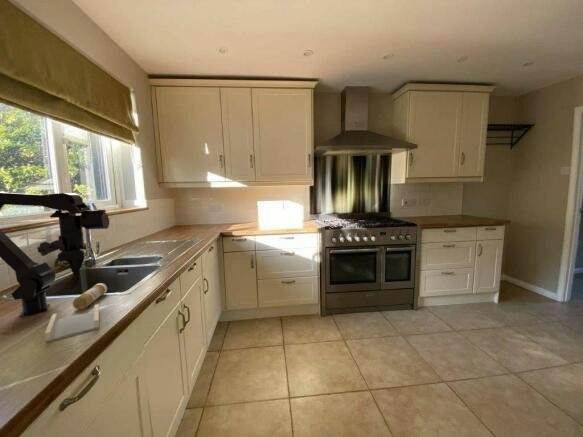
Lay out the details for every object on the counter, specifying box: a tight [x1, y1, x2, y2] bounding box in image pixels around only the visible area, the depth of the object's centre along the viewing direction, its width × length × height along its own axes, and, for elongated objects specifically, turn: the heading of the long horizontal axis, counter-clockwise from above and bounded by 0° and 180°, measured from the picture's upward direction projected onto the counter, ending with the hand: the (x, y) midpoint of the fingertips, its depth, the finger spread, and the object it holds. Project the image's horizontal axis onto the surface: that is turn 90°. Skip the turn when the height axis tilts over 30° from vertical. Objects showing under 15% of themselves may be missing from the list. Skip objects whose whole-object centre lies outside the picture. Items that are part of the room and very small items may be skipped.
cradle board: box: [44, 303, 100, 344], centre depth 73 cm, size 13×11×3 cm
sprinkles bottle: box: [72, 282, 108, 311], centre depth 89 cm, size 5×5×14 cm
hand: (76, 275), depth 85 cm, fingers closed
